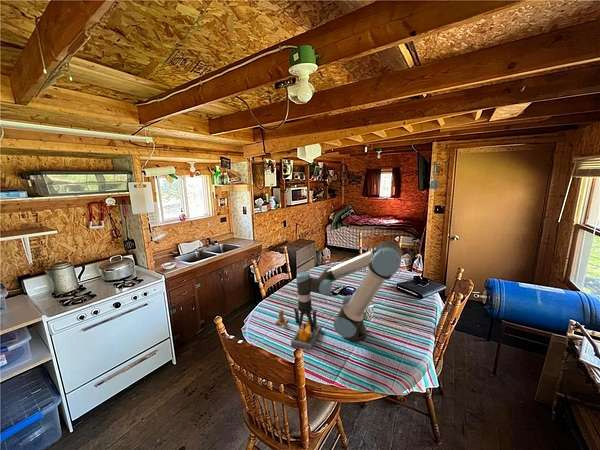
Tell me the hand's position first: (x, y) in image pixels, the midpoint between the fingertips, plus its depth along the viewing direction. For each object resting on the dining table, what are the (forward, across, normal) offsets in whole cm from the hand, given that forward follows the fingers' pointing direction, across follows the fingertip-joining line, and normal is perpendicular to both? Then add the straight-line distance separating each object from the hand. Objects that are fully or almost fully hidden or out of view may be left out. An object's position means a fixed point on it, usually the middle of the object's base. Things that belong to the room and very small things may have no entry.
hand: (306, 335), depth 144 cm
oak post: (+2, +21, -9) cm, 23 cm away
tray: (+2, 0, 0) cm, 2 cm away
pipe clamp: (+1, 0, -1) cm, 1 cm away
